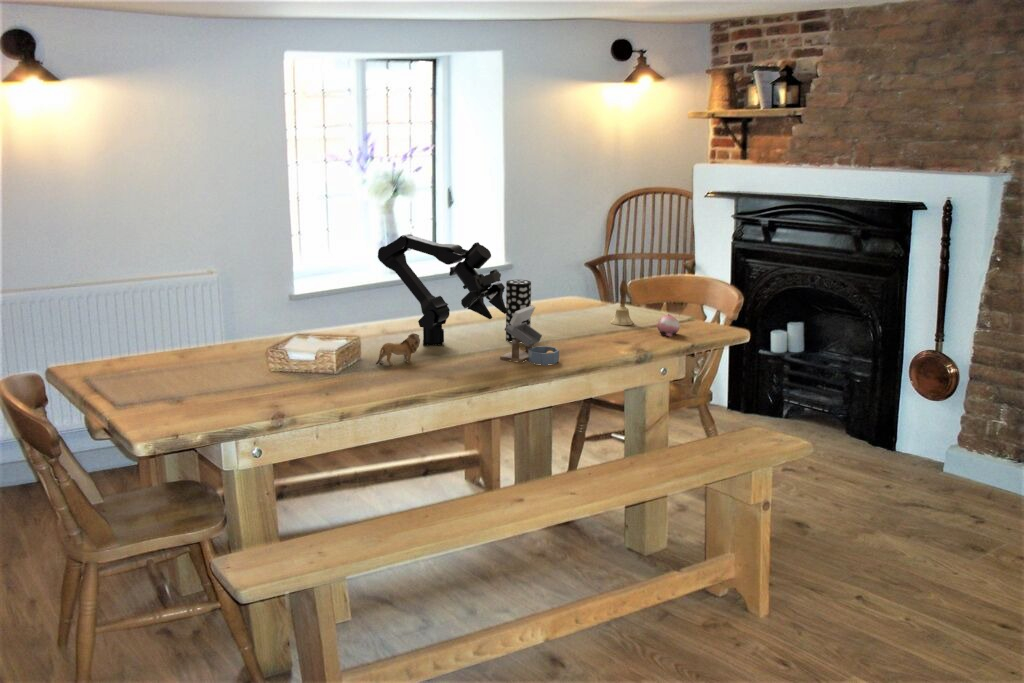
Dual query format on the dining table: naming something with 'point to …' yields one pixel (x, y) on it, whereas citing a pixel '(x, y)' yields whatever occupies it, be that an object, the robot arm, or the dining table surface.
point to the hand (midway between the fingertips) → (498, 315)
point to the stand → (516, 352)
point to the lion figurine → (400, 348)
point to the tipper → (523, 327)
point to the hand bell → (622, 308)
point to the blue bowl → (543, 355)
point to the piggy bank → (668, 325)
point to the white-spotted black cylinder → (517, 300)
